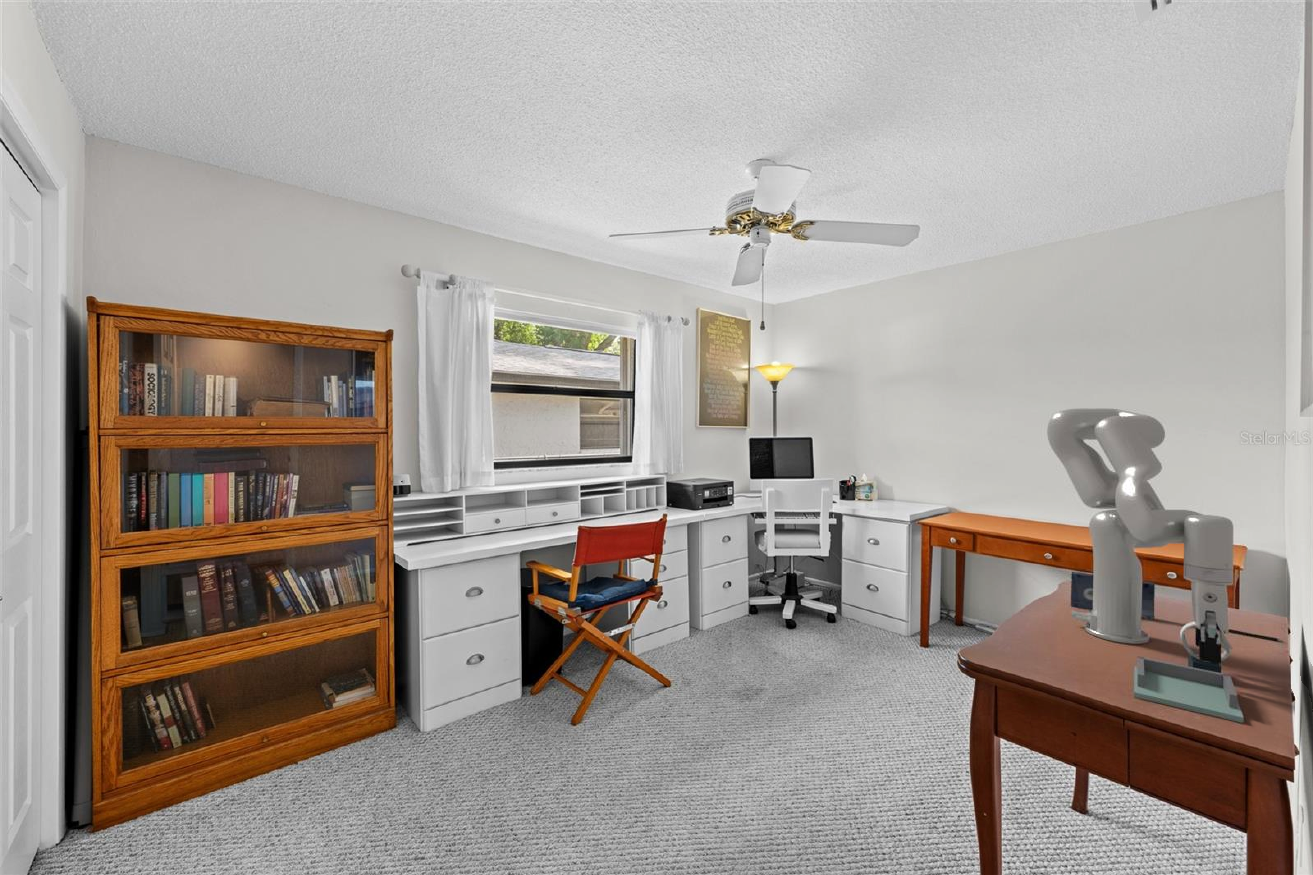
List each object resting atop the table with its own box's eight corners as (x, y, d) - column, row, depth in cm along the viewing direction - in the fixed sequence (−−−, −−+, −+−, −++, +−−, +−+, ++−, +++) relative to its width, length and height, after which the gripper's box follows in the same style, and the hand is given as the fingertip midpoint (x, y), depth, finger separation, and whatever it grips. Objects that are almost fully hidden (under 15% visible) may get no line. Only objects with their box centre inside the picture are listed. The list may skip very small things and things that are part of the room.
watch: (1234, 684, 116) (1235, 631, 116) (1181, 674, 121) (1182, 623, 120) (1228, 674, 121) (1229, 623, 120) (1177, 664, 125) (1178, 615, 125)
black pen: (1282, 642, 138) (1282, 638, 138) (1282, 644, 137) (1282, 640, 137) (1212, 629, 147) (1212, 625, 147) (1212, 630, 146) (1212, 626, 146)
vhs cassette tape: (1154, 618, 154) (1155, 582, 154) (1154, 621, 152) (1155, 584, 152) (1071, 604, 166) (1071, 570, 166) (1070, 607, 164) (1070, 573, 164)
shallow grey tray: (1134, 697, 111) (1134, 679, 111) (1134, 670, 122) (1134, 654, 122) (1243, 723, 101) (1244, 704, 101) (1232, 692, 113) (1233, 674, 113)
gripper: (1238, 585, 111) (1238, 672, 111) (1227, 568, 124) (1227, 646, 124) (1186, 579, 116) (1186, 662, 116) (1181, 563, 129) (1181, 638, 129)
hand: (1207, 654), depth 120 cm, fingers open, 9 cm apart
